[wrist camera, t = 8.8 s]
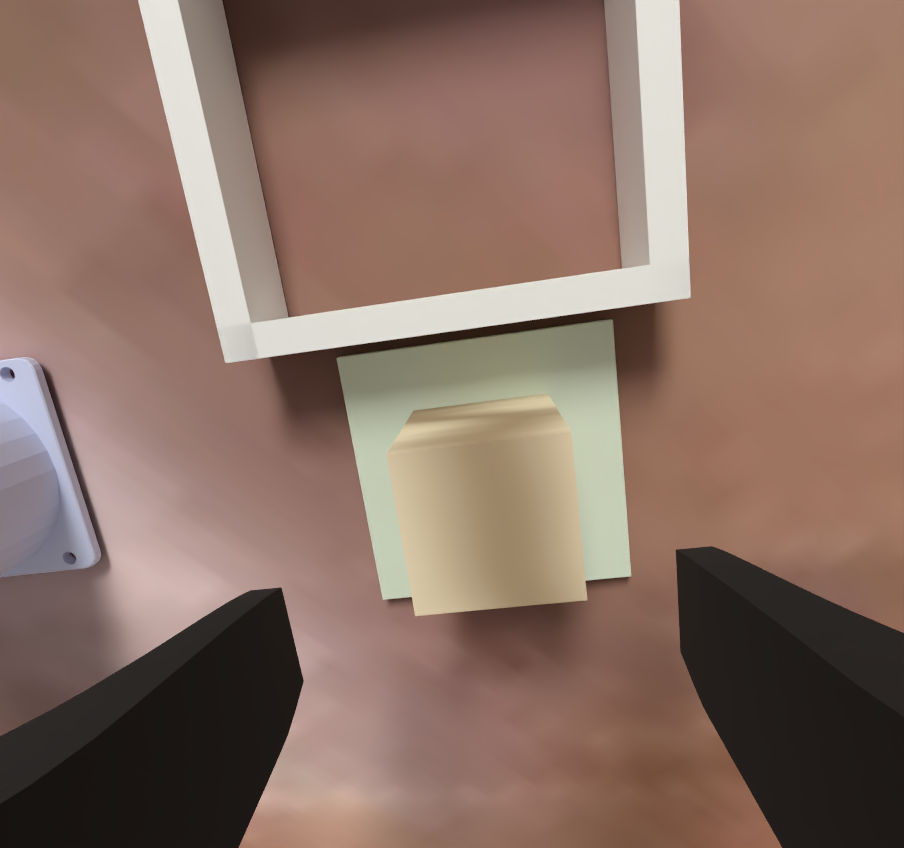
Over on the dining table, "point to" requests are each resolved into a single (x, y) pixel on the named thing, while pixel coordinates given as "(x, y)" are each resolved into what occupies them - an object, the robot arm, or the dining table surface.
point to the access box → (273, 333)
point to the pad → (484, 379)
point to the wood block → (488, 506)
